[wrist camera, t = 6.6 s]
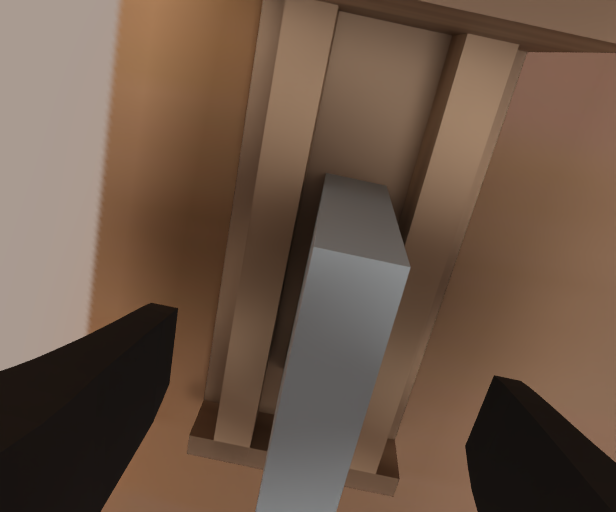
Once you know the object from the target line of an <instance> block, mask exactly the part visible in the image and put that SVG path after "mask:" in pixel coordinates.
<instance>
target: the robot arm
mask: <svg viewBox="0 0 616 512" xmlns="http://www.w3.org/2000/svg"><path fill="white" fill-rule="evenodd" d="M177 312H178V308H173V307H169V306H164V305H159V304H154V303H150V304H147V305H145V306H143V307H141V308H139V309H137V310H135V311H133V312H132V313H130V314H128V315H126V316H124V317H122V318H120V319H118V320H116V321H114V322H113V323H111V324H109V325H107V326H105V327H103V328H101V329H99V330H97V331H95V332H93V333H91V334H89V335H87V336H85V337H83V338H80V339H78V340H76V341H74V342H72V343H69V344H67V345H65V346H63V347H60V348H58V349H56V350H54V351H51V352H49V353H47V354H45V355H42V356H40V357H37V358H35V359H32V360H30V361H27V362H25V363H22V364H19V365H17V366H14V367H11V368H8V369H5V370H3V371H0V512H101V510H102V508H103V507H104V505H105V503H106V501H107V500H108V498H109V496H110V495H111V493H112V491H113V490H114V488H115V486H116V484H117V483H118V481H119V479H120V478H121V476H122V474H123V473H124V471H125V469H126V468H127V466H128V464H129V462H130V461H131V459H132V457H133V456H134V454H135V452H136V451H137V449H138V447H139V445H140V444H141V442H142V440H143V439H144V437H145V435H146V433H147V432H148V430H149V428H150V426H151V425H152V423H153V421H154V419H155V416H156V414H157V412H158V409H159V407H160V405H161V402H162V400H163V398H164V395H165V393H166V390H167V388H168V386H169V382H170V373H171V364H172V356H173V347H174V338H175V330H176V321H177ZM465 447H466V455H467V463H468V471H469V477H470V483H471V489H472V493H473V496H474V500H475V504H476V507H477V511H478V512H616V462H614V461H613V460H612V459H611V458H610V457H608V456H607V455H606V454H605V453H604V452H603V451H601V450H600V449H599V448H598V447H597V446H596V445H595V444H593V443H592V442H591V441H590V440H589V439H588V438H587V437H585V436H584V435H583V434H582V433H581V432H580V431H579V430H578V429H576V428H575V427H574V426H573V425H572V424H571V423H570V422H569V421H568V420H566V419H565V418H564V417H563V416H562V415H561V414H560V413H559V412H557V411H556V410H555V409H554V408H553V407H552V406H551V405H550V404H549V403H547V402H546V401H545V400H544V399H543V398H542V397H540V396H539V395H538V394H537V393H536V392H535V391H533V390H532V389H531V388H530V387H528V386H527V385H526V384H524V383H523V382H521V381H518V380H513V379H509V378H504V377H499V376H495V375H494V377H493V379H492V382H491V384H490V387H489V389H488V392H487V394H486V397H485V399H484V401H483V404H482V406H481V409H480V411H479V414H478V416H477V419H476V421H475V423H474V426H473V428H472V431H471V433H470V436H469V438H468V441H467V443H466V445H465Z"/></svg>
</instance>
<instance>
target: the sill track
mask: <svg viewBox="0 0 616 512" xmlns="http://www.w3.org/2000/svg"><path fill="white" fill-rule="evenodd" d="M527 52H596V53H616V0H263V4H262V10H261V17H260V24H259V31H258V37H257V44H256V51H255V58H254V65H253V71H252V78H251V85H250V92H249V98H248V105H247V112H246V119H245V125H244V132H243V139H242V146H241V152H240V159H239V166H238V173H237V180H236V186H235V193H234V200H233V207H232V213H231V220H230V227H229V234H228V240H227V247H226V254H225V261H224V267H223V274H222V281H221V288H220V294H219V301H218V308H217V315H216V322H215V328H214V335H213V342H212V349H211V355H210V362H209V369H208V376H207V382H206V389H205V396H204V401H203V403H202V406H201V408H200V411H199V413H198V416H197V418H196V421H195V423H194V426H193V428H192V430H191V433H190V435H189V443H188V450H187V454H190V455H195V456H200V457H204V458H209V459H214V460H219V461H224V462H228V463H233V464H238V465H243V466H248V467H252V468H257V469H262V470H264V466H265V461H266V456H267V451H268V445H269V440H270V435H271V430H272V425H273V420H274V415H275V410H276V405H277V400H278V395H279V390H280V385H281V380H282V374H283V369H284V365H285V360H286V356H287V351H288V346H289V342H290V337H291V332H292V328H293V323H294V319H295V314H296V309H297V305H298V300H299V296H300V291H301V286H302V282H303V277H304V272H305V268H306V263H307V259H308V254H309V249H310V245H311V240H312V236H313V231H314V226H315V222H316V217H317V212H318V208H319V203H320V199H321V194H322V189H323V185H324V180H325V175H326V173H329V174H334V175H338V176H343V177H348V178H352V179H357V180H362V181H366V182H371V183H376V184H381V185H385V186H387V189H388V193H389V196H390V199H391V203H392V206H393V210H394V213H395V216H396V220H397V223H398V226H399V230H400V233H401V237H402V240H403V243H404V247H405V250H406V253H407V257H408V260H409V264H410V267H411V268H410V271H409V274H408V278H407V281H406V284H405V287H404V291H403V294H402V297H401V301H400V304H399V307H398V310H397V314H396V317H395V320H394V323H393V327H392V330H391V333H390V337H389V340H388V343H387V346H386V350H385V353H384V356H383V360H382V363H381V366H380V369H379V373H378V376H377V379H376V382H375V386H374V389H373V392H372V396H371V399H370V402H369V405H368V409H367V412H366V415H365V419H364V422H363V425H362V428H361V432H360V435H359V438H358V441H357V445H356V448H355V451H354V455H353V458H352V461H351V464H350V468H349V471H348V474H347V478H346V481H345V484H344V487H349V488H353V489H358V490H363V491H368V492H373V493H377V494H382V495H387V496H392V497H393V496H394V493H395V490H396V488H397V485H398V482H399V471H398V463H397V455H396V447H395V438H396V435H397V432H398V429H399V426H400V423H401V420H402V417H403V414H404V411H405V408H406V405H407V402H408V400H409V397H410V394H411V391H412V388H413V385H414V382H415V379H416V376H417V373H418V370H419V367H420V364H421V361H422V359H423V356H424V353H425V350H426V347H427V344H428V341H429V338H430V335H431V332H432V329H433V326H434V323H435V321H436V318H437V315H438V312H439V309H440V306H441V303H442V300H443V297H444V294H445V291H446V288H447V285H448V283H449V280H450V277H451V274H452V271H453V268H454V265H455V262H456V259H457V256H458V253H459V250H460V247H461V245H462V242H463V239H464V236H465V233H466V230H467V227H468V224H469V221H470V218H471V215H472V212H473V209H474V207H475V204H476V201H477V198H478V195H479V192H480V189H481V186H482V183H483V180H484V177H485V174H486V171H487V169H488V166H489V163H490V160H491V157H492V154H493V151H494V148H495V145H496V142H497V139H498V136H499V133H500V130H501V128H502V125H503V122H504V119H505V116H506V113H507V110H508V107H509V104H510V101H511V98H512V95H513V92H514V90H515V87H516V84H517V81H518V78H519V75H520V72H521V69H522V66H523V63H524V60H525V57H526V54H527Z"/></svg>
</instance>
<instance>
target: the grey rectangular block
mask: <svg viewBox="0 0 616 512" xmlns="http://www.w3.org/2000/svg"><path fill="white" fill-rule="evenodd" d="M410 268H411V267H410V264H409V260H408V257H407V253H406V250H405V247H404V243H403V240H402V237H401V233H400V230H399V226H398V223H397V220H396V216H395V213H394V210H393V206H392V203H391V199H390V196H389V193H388V189H387V186H385V185H381V184H376V183H371V182H366V181H362V180H357V179H352V178H348V177H343V176H338V175H334V174H329V173H326V175H325V180H324V185H323V189H322V194H321V199H320V203H319V208H318V212H317V217H316V222H315V226H314V231H313V236H312V240H311V245H310V249H309V254H308V259H307V263H306V268H305V272H304V277H303V282H302V286H301V291H300V296H299V300H298V305H297V309H296V314H295V319H294V323H293V328H292V332H291V337H290V342H289V346H288V351H287V356H286V360H285V365H284V369H283V374H282V380H281V385H280V390H279V395H278V400H277V405H276V410H275V415H274V420H273V425H272V430H271V435H270V440H269V445H268V451H267V456H266V461H265V466H264V471H263V476H262V481H261V486H260V491H259V496H258V501H257V506H256V511H255V512H336V510H337V507H338V504H339V500H340V497H341V494H342V491H343V487H344V484H345V481H346V478H347V474H348V471H349V468H350V464H351V461H352V458H353V455H354V451H355V448H356V445H357V441H358V438H359V435H360V432H361V428H362V425H363V422H364V419H365V415H366V412H367V409H368V405H369V402H370V399H371V396H372V392H373V389H374V386H375V382H376V379H377V376H378V373H379V369H380V366H381V363H382V360H383V356H384V353H385V350H386V346H387V343H388V340H389V337H390V333H391V330H392V327H393V323H394V320H395V317H396V314H397V310H398V307H399V304H400V301H401V297H402V294H403V291H404V287H405V284H406V281H407V278H408V274H409V271H410Z"/></svg>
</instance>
